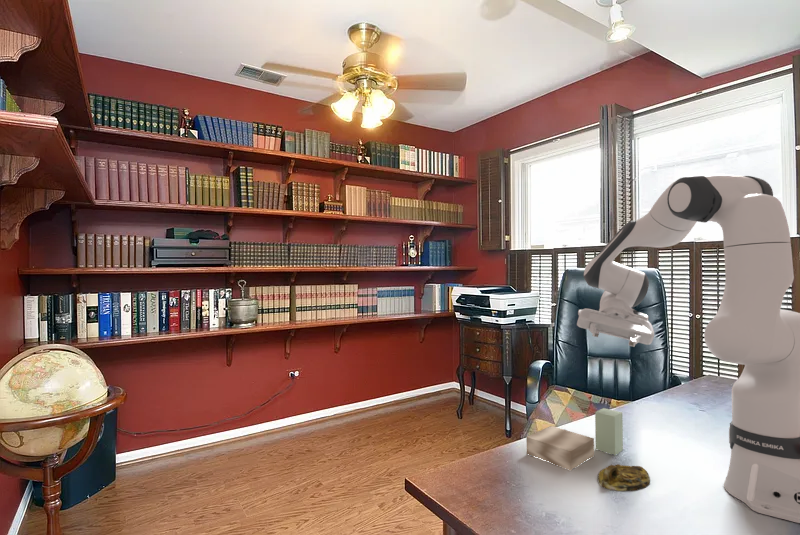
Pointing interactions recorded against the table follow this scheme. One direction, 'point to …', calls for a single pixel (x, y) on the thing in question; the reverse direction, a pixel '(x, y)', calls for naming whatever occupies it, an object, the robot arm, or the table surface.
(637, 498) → the table surface
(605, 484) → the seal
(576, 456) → the plinth
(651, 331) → the robot arm
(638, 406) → the table surface
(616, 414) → the green block
